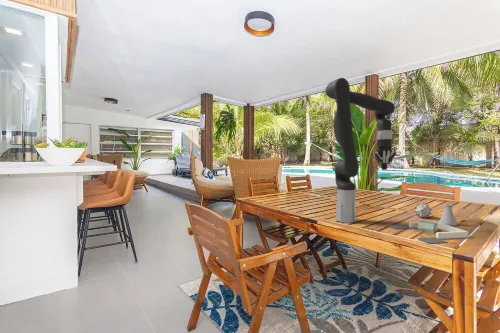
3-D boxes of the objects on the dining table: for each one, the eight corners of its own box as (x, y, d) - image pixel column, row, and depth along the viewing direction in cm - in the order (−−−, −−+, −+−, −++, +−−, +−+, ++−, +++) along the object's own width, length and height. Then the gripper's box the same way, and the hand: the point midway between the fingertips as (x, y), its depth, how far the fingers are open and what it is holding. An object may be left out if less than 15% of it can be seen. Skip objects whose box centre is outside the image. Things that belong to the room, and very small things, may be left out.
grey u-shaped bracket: (438, 239, 104) (438, 233, 104) (409, 227, 121) (409, 222, 121) (468, 237, 105) (468, 231, 105) (435, 226, 122) (435, 221, 122)
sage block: (433, 233, 112) (433, 224, 112) (417, 230, 117) (417, 222, 116) (437, 230, 116) (437, 222, 116) (422, 228, 120) (422, 219, 120)
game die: (427, 224, 138) (438, 212, 132) (411, 219, 139) (421, 206, 133) (424, 213, 145) (434, 202, 138) (408, 208, 146) (418, 196, 140)
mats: (428, 243, 99) (428, 243, 99) (387, 225, 125) (387, 225, 125) (447, 242, 100) (447, 242, 100) (402, 225, 125) (402, 224, 125)
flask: (435, 222, 128) (435, 203, 128) (448, 222, 129) (448, 202, 129) (447, 226, 121) (448, 206, 121) (461, 226, 122) (461, 205, 121)
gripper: (376, 138, 135) (376, 170, 136) (400, 138, 136) (399, 169, 137) (369, 139, 143) (369, 169, 144) (391, 139, 144) (391, 169, 145)
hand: (384, 169), depth 140 cm, fingers closed
